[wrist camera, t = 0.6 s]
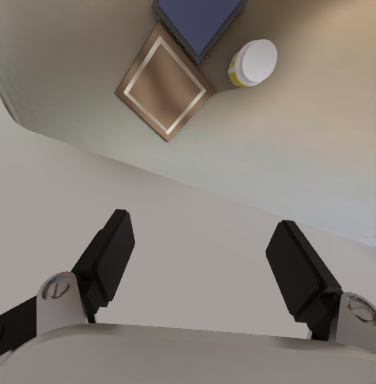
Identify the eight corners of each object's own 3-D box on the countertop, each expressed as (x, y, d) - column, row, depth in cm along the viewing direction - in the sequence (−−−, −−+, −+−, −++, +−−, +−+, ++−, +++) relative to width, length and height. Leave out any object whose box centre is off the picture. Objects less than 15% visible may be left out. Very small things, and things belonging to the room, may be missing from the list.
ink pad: (199, -71, 19) (199, -83, 18) (245, 5, 23) (248, -1, 21) (153, 9, 23) (150, 4, 22) (198, 65, 26) (198, 63, 25)
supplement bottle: (256, 85, 27) (277, 83, 20) (227, 88, 28) (237, 89, 21) (259, 47, 25) (284, 30, 18) (227, 52, 25) (239, 38, 18)
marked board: (159, 23, 24) (158, 21, 23) (214, 90, 28) (214, 90, 27) (116, 92, 29) (115, 92, 28) (169, 141, 33) (168, 142, 32)
